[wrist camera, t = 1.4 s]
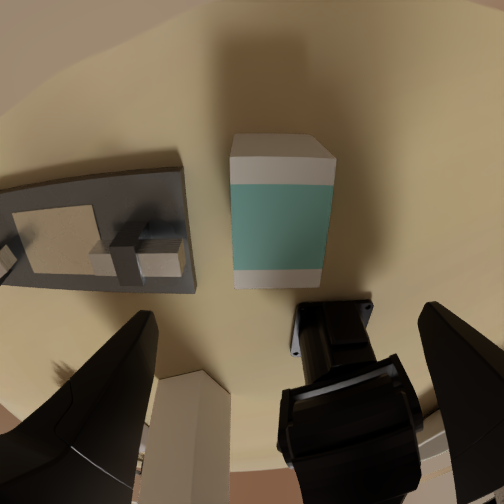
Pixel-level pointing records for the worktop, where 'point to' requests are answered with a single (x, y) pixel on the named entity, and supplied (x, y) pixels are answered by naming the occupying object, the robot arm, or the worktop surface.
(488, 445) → the robot arm
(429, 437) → the soup bowl
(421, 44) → the worktop surface
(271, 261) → the block
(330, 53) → the worktop surface
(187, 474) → the milk
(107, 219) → the shaft stand
